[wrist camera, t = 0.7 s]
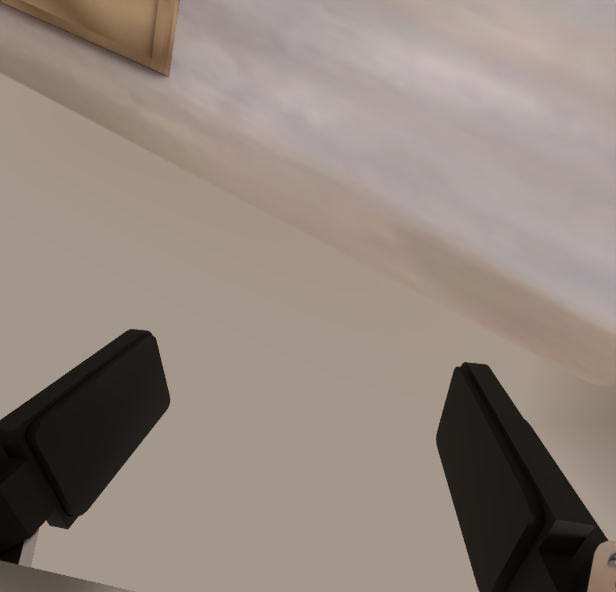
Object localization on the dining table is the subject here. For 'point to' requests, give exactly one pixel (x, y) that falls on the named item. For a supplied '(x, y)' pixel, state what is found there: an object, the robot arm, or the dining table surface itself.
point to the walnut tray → (114, 25)
